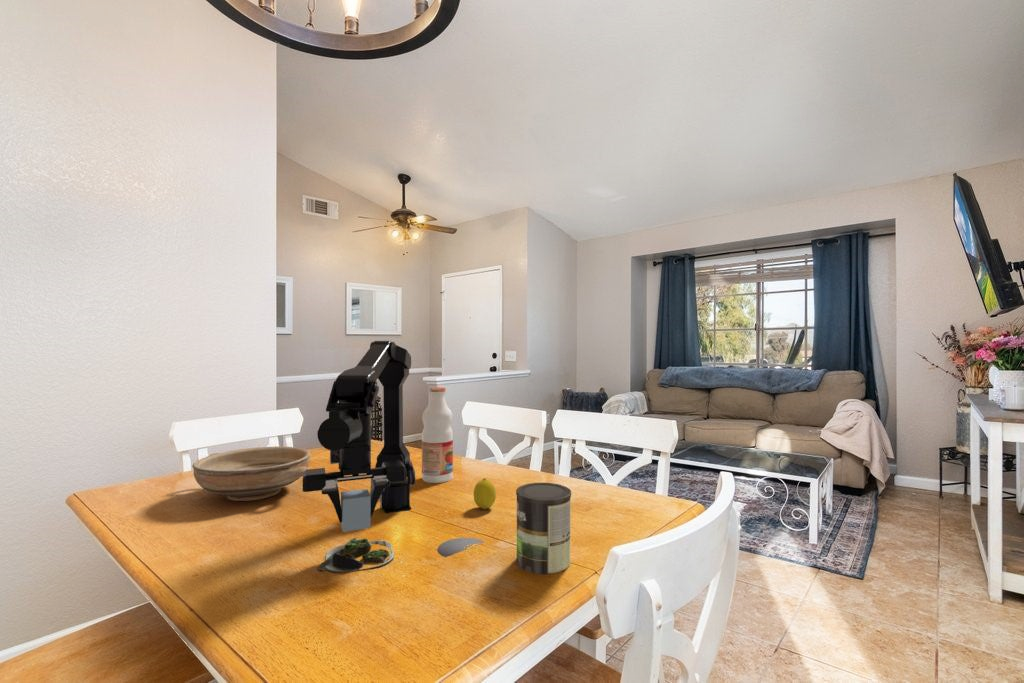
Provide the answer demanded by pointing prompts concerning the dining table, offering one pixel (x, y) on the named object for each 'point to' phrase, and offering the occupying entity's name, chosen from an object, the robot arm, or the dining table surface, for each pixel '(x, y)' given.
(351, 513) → the slate block
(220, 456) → the ceramic bowl
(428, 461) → the fruit juice
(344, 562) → the salad plate
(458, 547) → the gray coaster
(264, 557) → the dining table surface
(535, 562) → the coffee can
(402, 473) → the robot arm
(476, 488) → the lemon
